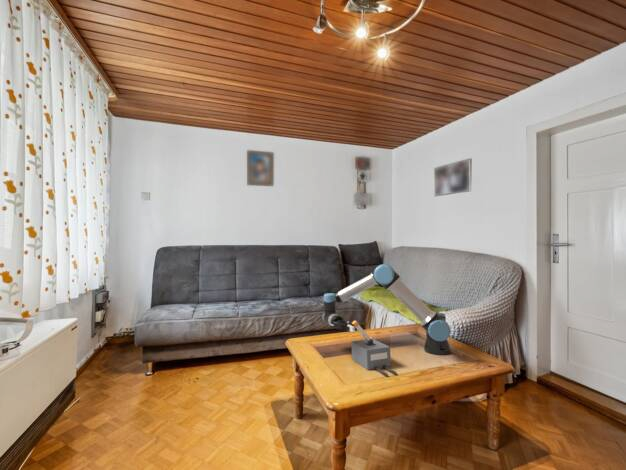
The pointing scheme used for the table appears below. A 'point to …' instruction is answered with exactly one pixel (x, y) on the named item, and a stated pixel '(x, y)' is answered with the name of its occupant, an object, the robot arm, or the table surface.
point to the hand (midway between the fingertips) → (353, 329)
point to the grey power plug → (372, 355)
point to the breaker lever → (362, 332)
